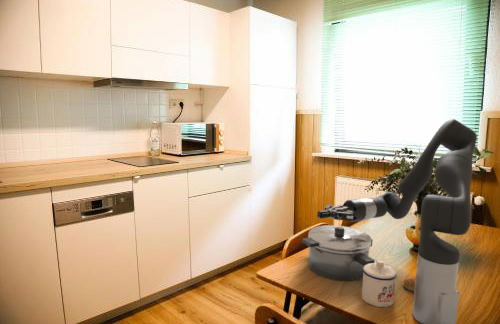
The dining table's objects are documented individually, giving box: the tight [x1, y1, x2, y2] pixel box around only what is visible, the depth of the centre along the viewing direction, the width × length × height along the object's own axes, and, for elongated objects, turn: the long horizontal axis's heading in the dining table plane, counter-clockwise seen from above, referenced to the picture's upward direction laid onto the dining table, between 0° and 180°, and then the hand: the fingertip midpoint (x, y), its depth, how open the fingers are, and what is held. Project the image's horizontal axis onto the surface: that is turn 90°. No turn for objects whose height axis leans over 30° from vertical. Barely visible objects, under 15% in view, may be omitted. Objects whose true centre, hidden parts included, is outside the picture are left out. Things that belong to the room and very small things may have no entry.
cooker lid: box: [301, 224, 372, 252], centre depth 116 cm, size 21×24×4 cm
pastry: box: [402, 278, 416, 292], centre depth 104 cm, size 9×7×4 cm
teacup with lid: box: [361, 260, 397, 308], centre depth 98 cm, size 12×9×12 cm
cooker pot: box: [308, 228, 376, 282], centre depth 118 cm, size 31×23×10 cm
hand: (318, 214), depth 112 cm, fingers closed
